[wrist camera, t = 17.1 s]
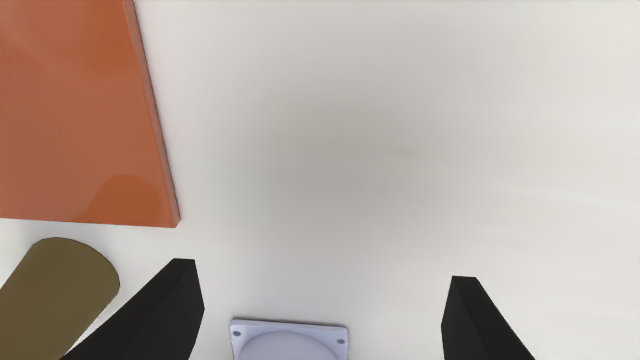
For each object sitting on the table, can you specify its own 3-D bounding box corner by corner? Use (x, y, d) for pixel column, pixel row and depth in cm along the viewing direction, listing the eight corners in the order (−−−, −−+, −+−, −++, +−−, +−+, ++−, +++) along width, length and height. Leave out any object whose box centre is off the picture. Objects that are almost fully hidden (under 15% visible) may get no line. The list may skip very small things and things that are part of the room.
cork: (119, 251, 27) (-11, 435, 17) (119, 314, 30) (9, 496, 21) (21, 227, 26) (-167, 401, 17) (32, 292, 29) (-121, 469, 20)
